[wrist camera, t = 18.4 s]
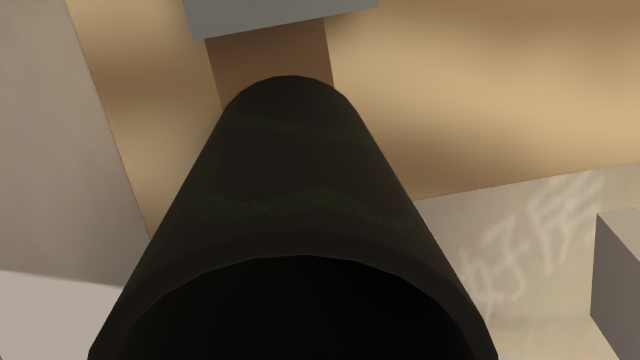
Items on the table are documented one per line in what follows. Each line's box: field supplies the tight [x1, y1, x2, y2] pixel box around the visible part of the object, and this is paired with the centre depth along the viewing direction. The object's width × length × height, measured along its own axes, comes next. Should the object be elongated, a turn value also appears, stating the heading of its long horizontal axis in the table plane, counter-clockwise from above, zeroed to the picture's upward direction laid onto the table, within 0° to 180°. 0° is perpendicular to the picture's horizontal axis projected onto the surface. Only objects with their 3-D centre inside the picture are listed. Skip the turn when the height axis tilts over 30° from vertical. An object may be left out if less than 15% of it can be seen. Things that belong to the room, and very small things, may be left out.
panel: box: [65, 0, 640, 240], centre depth 20 cm, size 14×24×1 cm, turn 100°
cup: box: [87, 75, 498, 360], centre depth 16 cm, size 8×8×12 cm
